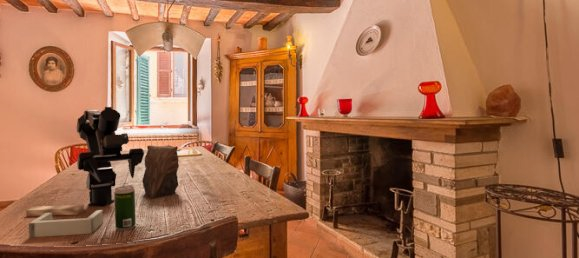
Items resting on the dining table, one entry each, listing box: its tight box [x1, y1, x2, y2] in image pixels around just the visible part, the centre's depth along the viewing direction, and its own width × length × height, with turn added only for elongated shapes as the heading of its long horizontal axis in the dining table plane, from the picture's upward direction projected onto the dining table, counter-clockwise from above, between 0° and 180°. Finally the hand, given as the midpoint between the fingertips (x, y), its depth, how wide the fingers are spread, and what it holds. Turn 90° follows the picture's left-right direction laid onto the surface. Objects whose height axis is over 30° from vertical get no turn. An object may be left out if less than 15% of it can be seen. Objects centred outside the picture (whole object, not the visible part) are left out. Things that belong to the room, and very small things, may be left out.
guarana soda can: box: [113, 185, 137, 231], centre depth 97 cm, size 5×5×12 cm
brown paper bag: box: [142, 144, 180, 200], centre depth 136 cm, size 13×13×20 cm
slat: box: [25, 204, 85, 217], centre depth 111 cm, size 16×4×2 cm, turn 96°
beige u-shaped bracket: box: [28, 209, 104, 238], centre depth 96 cm, size 9×16×4 cm, turn 101°
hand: (117, 179), depth 103 cm, fingers open, 9 cm apart
